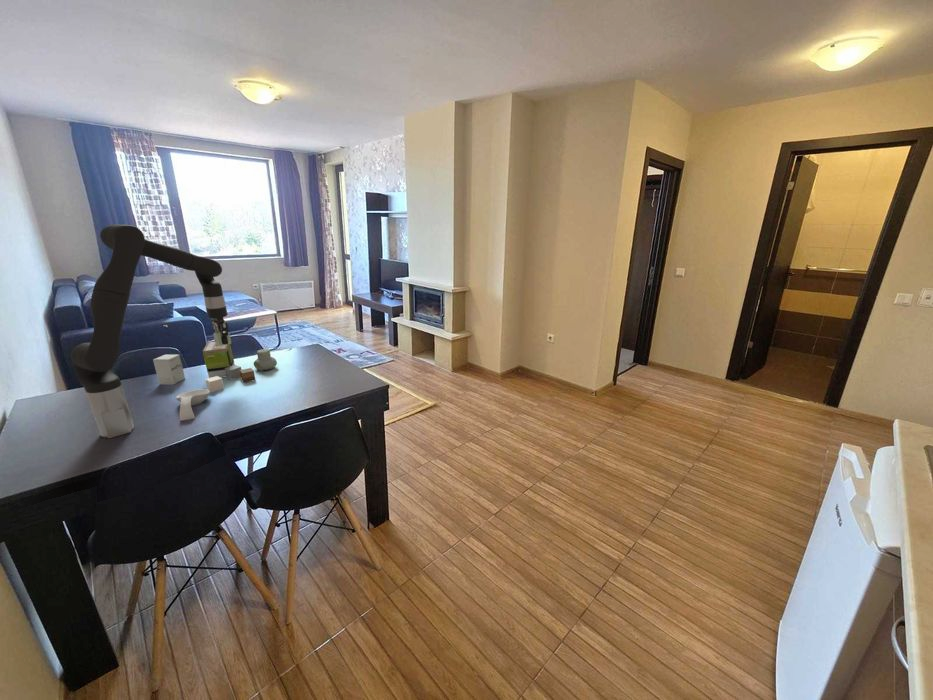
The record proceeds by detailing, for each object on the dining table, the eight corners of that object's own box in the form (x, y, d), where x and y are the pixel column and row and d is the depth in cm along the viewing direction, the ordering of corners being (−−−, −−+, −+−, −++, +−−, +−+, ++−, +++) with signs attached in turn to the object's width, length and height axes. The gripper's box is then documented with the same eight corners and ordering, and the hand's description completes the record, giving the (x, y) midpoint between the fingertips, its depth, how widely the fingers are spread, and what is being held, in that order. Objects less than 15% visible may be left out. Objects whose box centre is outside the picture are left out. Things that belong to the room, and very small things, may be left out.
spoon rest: (180, 399, 163) (177, 384, 160) (213, 394, 168) (209, 379, 166) (169, 424, 143) (165, 407, 141) (206, 417, 148) (202, 400, 146)
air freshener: (279, 368, 198) (277, 350, 194) (264, 373, 191) (261, 354, 188) (267, 364, 203) (264, 346, 200) (252, 369, 196) (249, 350, 193)
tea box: (213, 368, 196) (207, 341, 192) (235, 366, 200) (230, 339, 196) (208, 379, 183) (201, 350, 179) (232, 376, 187) (226, 347, 183)
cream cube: (223, 388, 173) (221, 378, 172) (211, 392, 170) (209, 381, 168) (219, 385, 176) (217, 375, 175) (207, 389, 172) (204, 379, 171)
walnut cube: (255, 380, 183) (253, 370, 181) (244, 382, 180) (242, 373, 178) (252, 377, 186) (250, 367, 185) (241, 379, 183) (239, 370, 181)
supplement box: (174, 384, 176) (167, 359, 172) (158, 384, 177) (152, 359, 173) (185, 378, 183) (179, 354, 179) (170, 378, 184) (164, 354, 180)
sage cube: (231, 343, 172) (229, 333, 171) (219, 346, 169) (217, 335, 167) (227, 341, 176) (225, 331, 174) (215, 343, 172) (213, 333, 170)
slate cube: (242, 376, 187) (240, 366, 186) (232, 379, 183) (230, 370, 182) (236, 374, 190) (235, 365, 188) (226, 377, 185) (224, 368, 184)
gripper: (231, 307, 165) (238, 344, 170) (219, 302, 174) (226, 338, 179) (211, 309, 159) (219, 348, 165) (200, 305, 168) (208, 341, 174)
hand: (223, 342), depth 172 cm, fingers closed on sage cube, 5 cm apart
